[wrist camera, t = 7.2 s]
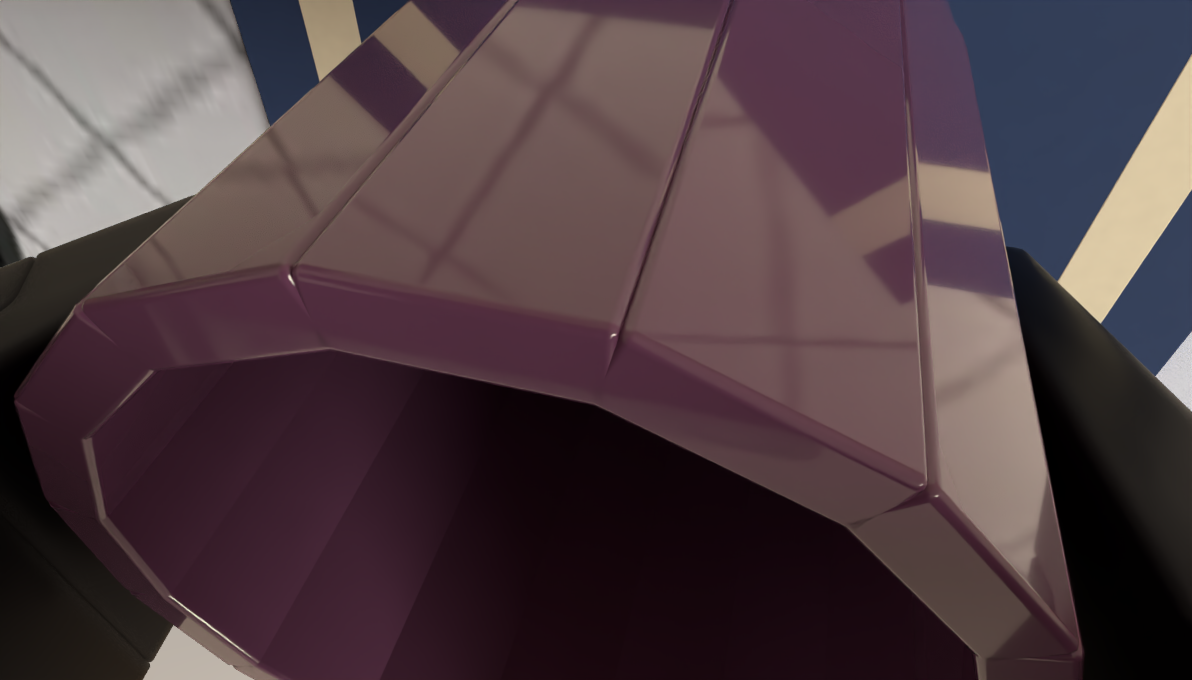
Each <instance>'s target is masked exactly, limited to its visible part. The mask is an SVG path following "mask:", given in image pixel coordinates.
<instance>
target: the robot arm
mask: <svg viewBox="0 0 1192 680" xmlns="http://www.w3.org/2000/svg"><path fill="white" fill-rule="evenodd" d="M195 195H196V194H195ZM195 195H193V196H190V197H187V198H185V199H182V200H179V201H177V202H174V203H171V204H169V205H166V206H164V207H161V208H158V209H156V210H153V211H150V212H148V213H145V214H142V215H140V216H137V217H134V218H132V219H129V220H126V221H124V222H121V223H118V224H116V225H113V226H110V227H108V228H105V229H103V230H100V231H97V232H95V233H92V234H89V235H87V236H84V237H81V238H79V239H76V240H73V241H71V242H68V243H65V244H63V245H60V246H57V247H55V248H52V249H49V250H47V251H44V252H42V253H39V254H38V256H37V258H34V257H28V258H25V259H22V260H20V261H17V262H15V263H12V264H9V265H7V266H4V267H1V268H0V680H143V678H144V676H145V675H146V673H147V671H148V669H149V667H150V664H149V662H151V661H153V660H154V658H155V656H156V654H157V653H158V651H159V649H160V647H161V646H162V644H163V642H164V640H165V639H166V637H167V635H168V633H169V632H170V630H171V628H172V627H173V624H172V623H170V622H169V621H167V620H166V619H165V618H163V617H162V616H161V615H159V614H158V613H156V612H155V611H154V610H152V609H151V608H150V607H148V606H147V605H145V604H144V603H143V602H141V601H140V600H139V599H137V598H136V597H135V596H133V595H132V594H131V593H130V591H129V590H127V589H125V588H124V587H123V586H122V585H121V584H120V582H119V581H118V580H117V579H116V578H115V577H114V576H113V575H112V574H111V573H110V571H109V570H108V569H107V568H106V567H105V566H104V565H103V564H102V563H101V561H100V560H99V559H98V558H97V557H96V556H95V555H94V554H93V553H92V551H91V550H90V549H89V548H88V547H87V546H86V545H85V544H84V543H83V541H82V540H81V539H80V538H79V537H78V536H77V535H76V534H75V533H74V531H73V530H72V529H71V528H70V527H69V526H68V525H67V524H66V523H65V522H64V520H63V519H62V518H61V517H60V516H59V515H58V514H57V513H56V512H55V510H54V509H53V508H52V507H51V506H50V505H49V504H48V500H47V499H46V498H45V497H44V496H43V494H42V491H41V488H40V484H39V481H38V478H37V475H36V472H35V469H34V466H33V463H32V460H31V456H30V453H29V450H28V447H27V444H26V441H25V438H24V435H23V432H22V428H21V425H20V422H19V419H18V416H17V413H16V410H15V407H14V402H15V400H16V399H15V398H14V394H15V392H16V389H17V388H18V387H19V385H20V384H21V382H22V381H23V379H24V378H25V376H26V375H27V374H28V372H29V371H30V369H31V368H32V366H33V365H34V363H35V362H36V360H37V359H38V358H39V356H40V355H41V353H42V352H43V350H44V349H45V347H46V346H47V345H48V343H49V342H50V340H51V339H52V337H53V336H54V334H55V333H56V332H57V330H58V329H59V327H60V326H61V324H62V323H63V321H64V320H65V319H66V317H67V316H68V314H69V313H70V311H71V310H72V308H73V307H74V306H75V304H76V303H78V302H79V301H80V300H81V299H82V298H83V297H84V296H85V295H86V294H87V293H88V292H90V291H91V290H92V289H93V288H94V287H95V286H96V285H97V284H98V283H99V282H101V281H102V280H103V279H104V278H105V277H106V276H107V275H108V274H109V273H110V272H112V271H113V270H114V269H115V268H116V267H117V266H118V265H119V264H120V263H121V262H122V261H124V260H125V259H126V258H127V257H128V256H129V255H130V254H131V253H132V252H133V251H135V250H136V249H137V248H138V247H139V246H140V245H141V244H142V243H143V242H144V241H145V240H147V239H148V238H149V237H150V236H151V235H152V234H153V233H154V232H155V231H156V230H158V229H159V228H160V227H161V226H162V225H163V224H164V223H165V222H166V221H167V220H168V219H170V218H171V217H172V216H173V215H174V214H175V213H176V212H177V211H178V210H179V209H181V208H182V207H183V206H184V205H185V204H186V203H187V202H188V201H189V200H190V199H192V198H193V197H194V196H195ZM1005 247H1006V252H1007V257H1008V262H1009V267H1010V272H1011V277H1012V283H1013V288H1014V293H1015V298H1016V303H1017V308H1018V313H1019V319H1020V324H1021V329H1022V334H1023V339H1024V344H1025V349H1026V354H1027V360H1028V365H1029V370H1030V375H1031V380H1032V385H1033V390H1034V396H1035V401H1036V406H1037V411H1038V416H1039V421H1040V426H1041V431H1042V437H1043V442H1044V447H1045V452H1046V457H1047V462H1048V467H1049V472H1050V478H1051V483H1052V488H1053V493H1054V498H1055V503H1056V508H1057V514H1058V519H1059V524H1060V529H1061V534H1062V539H1063V544H1064V549H1065V555H1066V560H1067V565H1068V570H1069V575H1070V580H1071V585H1072V591H1073V596H1074V601H1075V606H1076V611H1077V616H1078V621H1079V626H1080V632H1081V637H1082V642H1083V647H1084V652H1085V653H1084V672H1083V680H1192V412H1191V411H1190V410H1189V409H1188V408H1187V407H1186V406H1185V405H1184V404H1183V403H1182V402H1181V401H1180V400H1179V399H1178V398H1177V397H1176V396H1175V395H1174V394H1173V393H1172V392H1171V391H1170V390H1169V389H1168V388H1167V387H1166V386H1165V385H1164V384H1163V383H1161V382H1160V381H1159V380H1158V379H1157V378H1156V377H1155V376H1154V375H1153V374H1152V373H1151V372H1150V371H1149V370H1148V369H1147V368H1146V367H1145V366H1144V365H1143V364H1142V363H1141V362H1140V361H1139V360H1138V359H1137V358H1136V357H1135V356H1134V355H1133V354H1132V353H1131V352H1129V351H1128V350H1127V349H1126V348H1125V347H1124V346H1123V345H1122V344H1121V343H1120V342H1119V341H1118V340H1117V339H1116V338H1115V337H1114V336H1113V335H1112V334H1111V333H1110V332H1109V331H1108V330H1107V329H1106V328H1105V327H1104V326H1103V325H1102V324H1101V323H1100V322H1098V321H1097V320H1096V319H1095V318H1094V317H1093V316H1092V315H1091V314H1090V313H1089V312H1088V311H1087V310H1086V309H1085V308H1084V307H1083V306H1082V305H1081V304H1080V303H1079V302H1078V301H1077V300H1076V299H1075V298H1074V297H1073V296H1072V295H1071V294H1070V293H1069V292H1068V291H1066V290H1065V289H1064V288H1063V287H1062V286H1061V285H1060V284H1059V283H1058V282H1057V281H1056V280H1055V279H1054V278H1053V277H1052V276H1051V275H1050V274H1049V273H1048V272H1047V271H1046V270H1045V269H1044V268H1043V267H1042V266H1041V265H1040V264H1039V263H1038V262H1037V261H1036V260H1034V259H1033V258H1032V257H1031V256H1030V255H1029V254H1028V253H1027V252H1026V251H1025V250H1023V249H1020V248H1015V247H1008V246H1005Z"/></svg>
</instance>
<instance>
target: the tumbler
mask: <svg viewBox="0 0 1192 680" xmlns="http://www.w3.org/2000/svg"><path fill="white" fill-rule="evenodd" d="M14 398H15V399H16V400H15V402H14V407H15V410H16V413H17V416H18V419H19V422H20V425H21V428H22V432H23V435H24V438H25V441H26V444H27V447H28V450H29V453H30V456H31V460H32V463H33V466H34V469H35V472H36V475H37V478H38V481H39V484H40V488H41V491H42V494H43V496H44V497H45V498H46V499H47V500H48V504H49V505H50V506H51V507H52V508H53V509H54V510H55V512H56V513H57V514H58V515H59V516H60V517H61V518H62V519H63V520H64V522H65V523H66V524H67V525H68V526H69V527H70V528H71V529H72V530H73V531H74V533H75V534H76V535H77V536H78V537H79V538H80V539H81V540H82V541H83V543H84V544H85V545H86V546H87V547H88V548H89V549H90V550H91V551H92V553H93V554H94V555H95V556H96V557H97V558H98V559H99V560H100V561H101V563H102V564H103V565H104V566H105V567H106V568H107V569H108V570H109V571H110V573H111V574H112V575H113V576H114V577H115V578H116V579H117V580H118V581H119V582H120V584H121V585H122V586H123V587H124V588H125V589H127V590H129V591H130V593H131V594H132V595H133V596H135V597H136V598H137V599H139V600H140V601H141V602H143V603H144V604H145V605H147V606H148V607H150V608H151V609H152V610H154V611H155V612H156V613H158V614H159V615H161V616H162V617H163V618H165V619H166V620H167V621H169V622H170V623H172V624H173V625H174V626H176V627H177V628H179V629H180V630H181V631H183V632H184V633H185V634H187V635H188V636H190V637H191V638H192V639H194V640H195V641H196V642H198V643H199V644H201V645H202V646H203V647H205V648H206V649H207V650H209V651H210V652H211V653H213V654H214V655H216V656H217V657H218V658H220V659H221V660H222V661H224V662H225V663H227V664H228V665H233V667H234V668H235V669H236V670H238V671H240V672H242V673H243V674H246V675H247V676H249V677H251V678H253V679H255V680H1083V672H1084V653H1085V652H1084V647H1083V642H1082V637H1081V632H1080V626H1079V621H1078V616H1077V611H1076V606H1075V601H1074V596H1073V591H1072V585H1071V580H1070V575H1069V570H1068V565H1067V560H1066V555H1065V549H1064V544H1063V539H1062V534H1061V529H1060V524H1059V519H1058V514H1057V508H1056V503H1055V498H1054V493H1053V488H1052V483H1051V478H1050V472H1049V467H1048V462H1047V457H1046V452H1045V447H1044V442H1043V437H1042V431H1041V426H1040V421H1039V416H1038V411H1037V406H1036V401H1035V396H1034V390H1033V385H1032V380H1031V375H1030V370H1029V365H1028V360H1027V354H1026V349H1025V344H1024V339H1023V334H1022V329H1021V324H1020V319H1019V313H1018V308H1017V303H1016V298H1015V293H1014V288H1013V283H1012V277H1011V272H1010V267H1009V262H1008V257H1007V252H1006V247H1005V242H1004V236H1003V231H1002V226H1001V221H1000V216H999V211H998V206H997V200H996V195H995V190H994V185H993V180H992V175H991V170H990V165H989V159H988V154H987V149H986V144H985V139H984V134H983V129H982V123H981V118H980V113H979V108H978V103H977V98H976V93H975V88H974V82H973V77H972V72H971V67H970V62H969V57H968V52H967V46H966V44H965V43H964V38H963V35H962V33H961V32H960V30H959V29H958V27H957V25H956V24H955V21H954V18H953V15H952V12H951V9H950V6H949V3H948V1H947V0H409V1H407V2H406V3H405V4H404V5H403V6H402V7H401V8H400V9H399V10H398V11H396V12H395V13H394V14H393V15H392V16H391V17H390V18H389V19H388V20H387V21H386V22H384V23H383V24H382V25H381V26H380V27H379V28H378V29H377V30H376V31H375V32H373V33H372V34H371V35H370V36H369V37H368V38H367V39H366V40H365V41H364V42H362V43H361V44H360V45H359V46H358V47H357V48H356V49H355V50H354V51H353V52H352V53H350V54H349V55H348V56H347V57H346V58H345V59H344V60H343V61H342V62H341V63H339V64H338V65H337V66H336V67H335V68H334V69H333V70H332V71H331V72H330V73H329V74H327V75H326V76H325V77H324V78H323V79H322V80H321V81H320V82H319V83H318V84H316V85H315V86H314V87H313V88H312V89H311V90H310V91H309V92H308V93H307V94H306V95H304V96H303V97H302V98H301V99H300V100H299V101H298V102H297V103H296V104H295V105H293V106H292V107H291V108H290V109H289V110H288V111H287V112H286V113H285V114H284V115H282V116H281V117H280V118H279V119H278V120H277V121H276V122H275V123H274V124H273V125H272V126H270V127H269V128H268V129H267V130H266V131H265V132H264V133H263V134H262V135H261V136H259V137H258V138H257V139H256V140H255V141H254V142H253V143H252V144H251V145H250V146H249V147H247V148H246V149H245V150H244V151H243V152H242V153H241V154H240V155H239V156H238V157H236V158H235V159H234V160H233V161H232V162H231V163H230V164H229V165H228V166H227V167H225V168H224V169H223V170H222V171H221V172H220V173H219V174H218V175H217V176H216V177H215V178H213V179H212V180H211V181H210V182H209V183H208V184H207V185H206V186H205V187H204V188H202V189H201V190H200V191H199V192H198V193H197V194H196V195H195V196H194V197H193V198H192V199H190V200H189V201H188V202H187V203H186V204H185V205H184V206H183V207H182V208H181V209H179V210H178V211H177V212H176V213H175V214H174V215H173V216H172V217H171V218H170V219H168V220H167V221H166V222H165V223H164V224H163V225H162V226H161V227H160V228H159V229H158V230H156V231H155V232H154V233H153V234H152V235H151V236H150V237H149V238H148V239H147V240H145V241H144V242H143V243H142V244H141V245H140V246H139V247H138V248H137V249H136V250H135V251H133V252H132V253H131V254H130V255H129V256H128V257H127V258H126V259H125V260H124V261H122V262H121V263H120V264H119V265H118V266H117V267H116V268H115V269H114V270H113V271H112V272H110V273H109V274H108V275H107V276H106V277H105V278H104V279H103V280H102V281H101V282H99V283H98V284H97V285H96V286H95V287H94V288H93V289H92V290H91V291H90V292H88V293H87V294H86V295H85V296H84V297H83V298H82V299H81V300H80V301H79V302H78V303H76V304H75V306H74V307H73V308H72V310H71V311H70V313H69V314H68V316H67V317H66V319H65V320H64V321H63V323H62V324H61V326H60V327H59V329H58V330H57V332H56V333H55V334H54V336H53V337H52V339H51V340H50V342H49V343H48V345H47V346H46V347H45V349H44V350H43V352H42V353H41V355H40V356H39V358H38V359H37V360H36V362H35V363H34V365H33V366H32V368H31V369H30V371H29V372H28V374H27V375H26V376H25V378H24V379H23V381H22V382H21V384H20V385H19V387H18V388H17V389H16V392H15V394H14Z"/></svg>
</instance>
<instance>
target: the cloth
mask: <svg viewBox="0 0 1192 680" xmlns="http://www.w3.org/2000/svg"><path fill="white" fill-rule="evenodd" d="M407 1H409V0H230V2H231V5H232V9H233V12H234V15H235V18H236V21H237V24H238V27H239V30H240V33H241V37H242V40H243V43H244V46H245V49H246V52H247V55H248V58H249V61H250V65H251V68H252V71H253V74H254V77H255V80H256V83H257V86H258V89H259V92H260V96H261V99H262V102H263V105H264V108H265V111H266V114H267V117H268V120H269V124H270V126H272V125H273V124H274V123H275V122H276V121H277V120H278V119H279V118H280V117H281V116H282V115H284V114H285V113H286V112H287V111H288V110H289V109H290V108H291V107H292V106H293V105H295V104H296V103H297V102H298V101H299V100H300V99H301V98H302V97H303V96H304V95H306V94H307V93H308V92H309V91H310V90H311V89H312V88H313V87H314V86H315V85H316V84H318V83H319V82H320V81H321V80H322V79H323V78H324V77H325V76H326V75H327V74H329V73H330V72H331V71H332V70H333V69H334V68H335V67H336V66H337V65H338V64H339V63H341V62H342V61H343V60H344V59H345V58H346V57H347V56H348V55H349V54H350V53H352V52H353V51H354V50H355V49H356V48H357V47H358V46H359V45H360V44H361V43H362V42H364V41H365V40H366V39H367V38H368V37H369V36H370V35H371V34H372V33H373V32H375V31H376V30H377V29H378V28H379V27H380V26H381V25H382V24H383V23H384V22H386V21H387V20H388V19H389V18H390V17H391V16H392V15H393V14H394V13H395V12H396V11H398V10H399V9H400V8H401V7H402V6H403V5H404V4H405V3H406V2H407ZM947 1H948V3H949V6H950V9H951V12H952V15H953V18H954V21H955V24H956V25H957V27H958V29H959V30H960V32H961V33H962V35H963V38H964V43H965V44H966V46H967V52H968V57H969V62H970V67H971V72H972V77H973V82H974V88H975V93H976V98H977V103H978V108H979V113H980V118H981V123H982V129H983V134H984V139H985V144H986V149H987V154H988V159H989V165H990V170H991V175H992V180H993V185H994V190H995V195H996V200H997V206H998V211H999V216H1000V221H1001V226H1002V231H1003V236H1004V242H1005V246H1008V247H1015V248H1020V249H1023V250H1025V251H1026V252H1027V253H1028V254H1029V255H1030V256H1031V257H1032V258H1033V259H1034V260H1036V261H1037V262H1038V263H1039V264H1040V265H1041V266H1042V267H1043V268H1044V269H1045V270H1046V271H1047V272H1048V273H1049V274H1050V275H1051V276H1052V277H1053V278H1054V279H1055V280H1056V281H1057V282H1058V283H1059V284H1060V285H1061V286H1062V287H1063V288H1064V289H1065V290H1066V291H1068V292H1069V293H1070V294H1071V295H1072V296H1073V297H1074V298H1075V299H1076V300H1077V301H1078V302H1079V303H1080V304H1081V305H1082V306H1083V307H1084V308H1085V309H1086V310H1087V311H1088V312H1089V313H1090V314H1091V315H1092V316H1093V317H1094V318H1095V319H1096V320H1097V321H1098V322H1100V323H1101V324H1102V325H1103V326H1104V327H1105V328H1106V329H1107V330H1108V331H1109V332H1110V333H1111V334H1112V335H1113V336H1114V337H1115V338H1116V339H1117V340H1118V341H1119V342H1120V343H1121V344H1122V345H1123V346H1124V347H1125V348H1126V349H1127V350H1128V351H1129V352H1131V353H1132V354H1133V355H1134V356H1135V357H1136V358H1137V359H1138V360H1139V361H1140V362H1141V363H1142V364H1143V365H1144V366H1145V367H1146V368H1147V369H1148V370H1149V371H1150V372H1151V373H1152V374H1153V375H1154V376H1156V375H1157V374H1158V372H1159V371H1160V370H1161V369H1162V367H1163V366H1164V365H1165V364H1166V362H1167V361H1168V360H1169V359H1170V357H1171V356H1172V355H1173V354H1174V352H1175V351H1176V350H1177V349H1178V347H1179V346H1180V345H1181V344H1182V343H1183V341H1184V340H1185V339H1186V338H1187V336H1188V335H1189V334H1190V333H1191V331H1192V0H947Z"/></svg>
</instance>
